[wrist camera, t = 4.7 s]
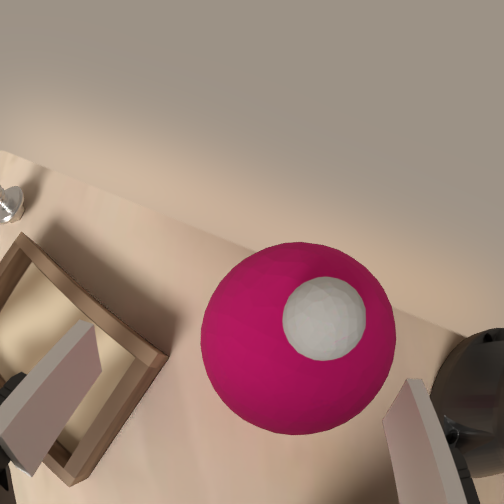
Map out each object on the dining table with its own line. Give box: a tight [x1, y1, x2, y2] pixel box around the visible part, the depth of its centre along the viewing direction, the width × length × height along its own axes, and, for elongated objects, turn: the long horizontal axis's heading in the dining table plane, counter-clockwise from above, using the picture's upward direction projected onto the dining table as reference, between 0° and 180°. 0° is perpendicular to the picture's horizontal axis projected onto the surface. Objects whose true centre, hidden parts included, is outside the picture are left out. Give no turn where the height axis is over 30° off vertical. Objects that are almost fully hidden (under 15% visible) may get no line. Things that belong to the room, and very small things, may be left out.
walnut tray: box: [0, 232, 169, 487], centre depth 22 cm, size 18×14×4 cm
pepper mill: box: [201, 242, 396, 435], centre depth 15 cm, size 7×7×20 cm
